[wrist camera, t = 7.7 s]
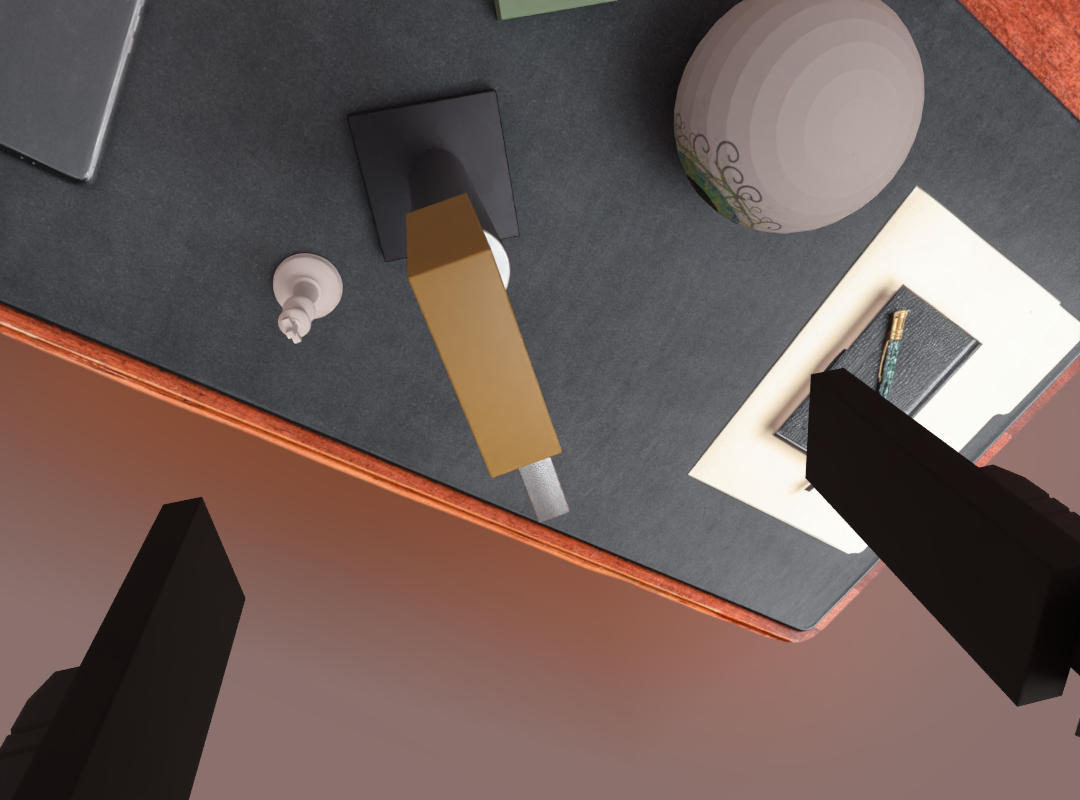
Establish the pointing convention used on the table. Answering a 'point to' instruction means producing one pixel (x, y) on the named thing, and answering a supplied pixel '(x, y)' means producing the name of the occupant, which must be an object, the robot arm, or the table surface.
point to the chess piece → (305, 292)
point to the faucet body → (436, 166)
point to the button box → (537, 6)
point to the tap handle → (483, 348)
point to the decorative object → (798, 110)
